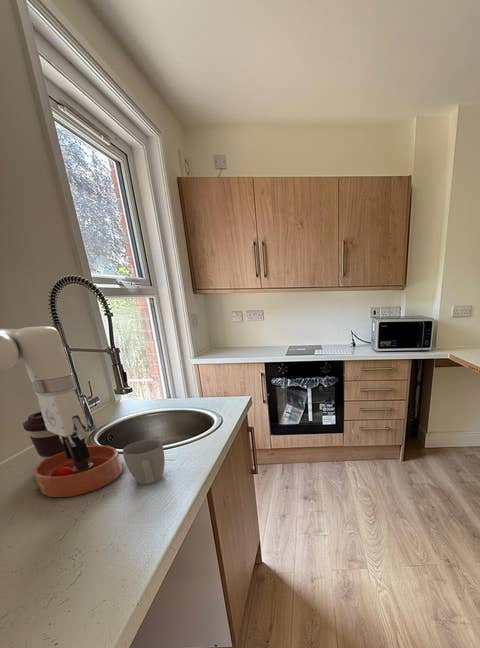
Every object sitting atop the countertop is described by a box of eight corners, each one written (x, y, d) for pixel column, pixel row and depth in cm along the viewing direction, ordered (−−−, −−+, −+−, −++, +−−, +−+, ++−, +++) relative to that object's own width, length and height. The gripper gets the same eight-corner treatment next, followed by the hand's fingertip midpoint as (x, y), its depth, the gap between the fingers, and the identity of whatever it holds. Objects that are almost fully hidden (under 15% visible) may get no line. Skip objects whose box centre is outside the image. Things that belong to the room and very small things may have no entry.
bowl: (64, 507, 78) (55, 484, 76) (29, 488, 87) (20, 466, 84) (136, 473, 92) (131, 453, 90) (100, 459, 100) (94, 440, 98)
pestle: (80, 483, 84) (64, 442, 79) (73, 478, 86) (57, 438, 82) (99, 475, 87) (85, 435, 83) (92, 470, 90) (78, 431, 85)
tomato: (50, 478, 85) (55, 464, 87) (60, 482, 89) (64, 468, 90) (65, 479, 85) (69, 465, 87) (74, 482, 89) (78, 468, 90)
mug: (130, 477, 90) (121, 444, 86) (167, 469, 94) (159, 436, 90) (133, 500, 80) (122, 463, 77) (173, 489, 84) (165, 454, 81)
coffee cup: (49, 475, 92) (29, 423, 86) (33, 466, 97) (14, 416, 91) (89, 460, 100) (73, 411, 94) (72, 453, 105) (56, 405, 99)
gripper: (17, 384, 78) (45, 457, 85) (53, 393, 71) (80, 472, 78) (55, 377, 84) (77, 445, 91) (91, 384, 76) (113, 459, 84)
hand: (78, 457), depth 84 cm, fingers closed on pestle, 2 cm apart
